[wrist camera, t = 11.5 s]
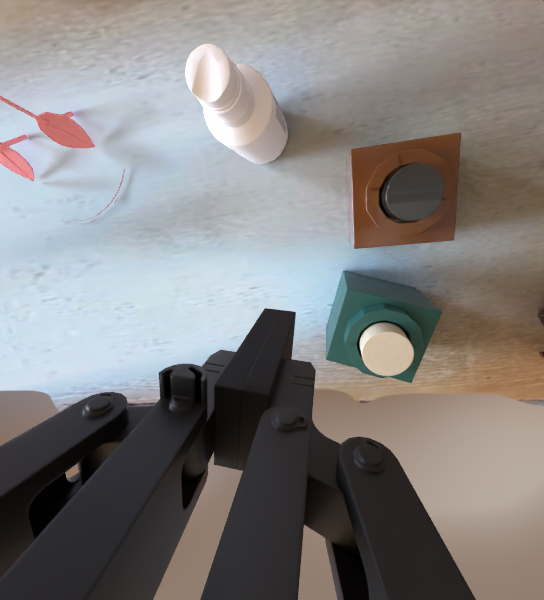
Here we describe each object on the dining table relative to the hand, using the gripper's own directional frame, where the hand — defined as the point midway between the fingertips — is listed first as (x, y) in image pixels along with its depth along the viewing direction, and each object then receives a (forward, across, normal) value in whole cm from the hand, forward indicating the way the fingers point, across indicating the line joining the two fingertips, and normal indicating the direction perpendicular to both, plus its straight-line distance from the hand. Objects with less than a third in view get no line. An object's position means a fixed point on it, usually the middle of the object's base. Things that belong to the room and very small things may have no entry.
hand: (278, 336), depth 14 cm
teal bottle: (+28, +9, -7) cm, 31 cm away
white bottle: (+28, -8, +15) cm, 33 cm away
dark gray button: (+19, +9, +8) cm, 22 cm away
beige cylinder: (+17, +9, -7) cm, 20 cm away
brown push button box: (+28, +9, +8) cm, 31 cm away
